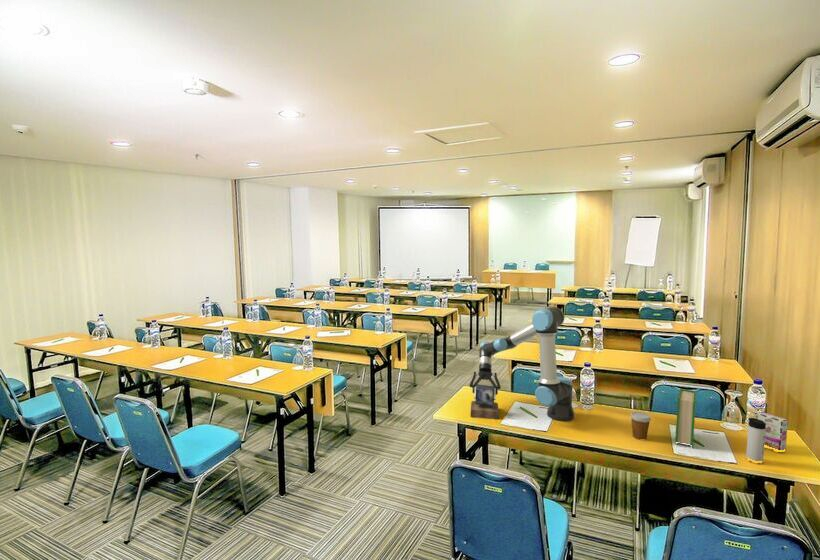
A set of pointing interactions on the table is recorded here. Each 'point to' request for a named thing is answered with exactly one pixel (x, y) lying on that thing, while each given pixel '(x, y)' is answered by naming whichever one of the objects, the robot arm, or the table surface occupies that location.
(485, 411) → the walnut stand
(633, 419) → the disposable coffee cup
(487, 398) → the small box
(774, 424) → the candy bar box
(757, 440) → the travel mug
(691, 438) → the hardback book
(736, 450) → the table surface
